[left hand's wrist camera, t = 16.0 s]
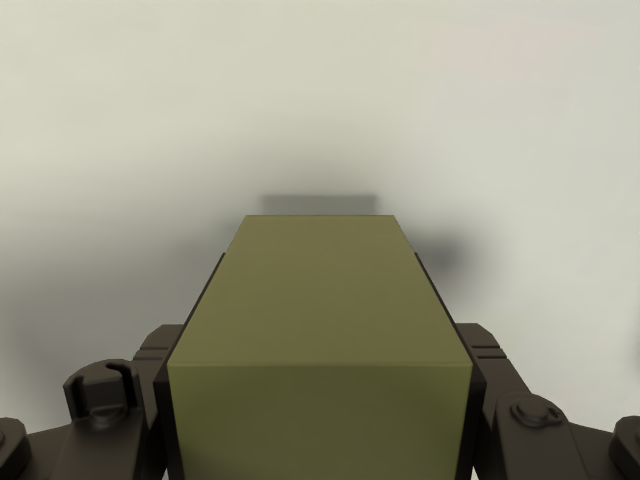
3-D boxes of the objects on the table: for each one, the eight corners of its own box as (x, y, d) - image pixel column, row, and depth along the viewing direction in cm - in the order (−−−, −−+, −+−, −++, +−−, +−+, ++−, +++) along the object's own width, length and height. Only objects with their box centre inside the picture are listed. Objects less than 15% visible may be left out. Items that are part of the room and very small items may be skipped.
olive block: (394, 214, 14) (474, 363, 7) (386, 341, 16) (443, 568, 9) (245, 214, 14) (164, 363, 7) (253, 341, 16) (196, 568, 9)
